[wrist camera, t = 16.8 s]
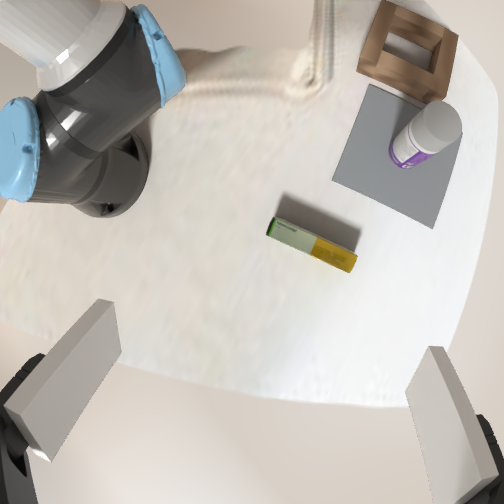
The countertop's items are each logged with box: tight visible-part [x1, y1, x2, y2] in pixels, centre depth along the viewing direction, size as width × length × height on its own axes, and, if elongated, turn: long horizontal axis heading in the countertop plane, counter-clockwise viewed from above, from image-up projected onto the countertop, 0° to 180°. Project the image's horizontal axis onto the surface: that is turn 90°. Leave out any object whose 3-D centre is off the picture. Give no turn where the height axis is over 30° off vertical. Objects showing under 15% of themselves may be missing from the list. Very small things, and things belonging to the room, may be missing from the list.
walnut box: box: [356, 0, 458, 105], centre depth 36 cm, size 13×13×5 cm
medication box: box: [266, 217, 358, 273], centre depth 42 cm, size 12×3×4 cm, turn 66°
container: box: [388, 101, 462, 170], centre depth 33 cm, size 5×5×15 cm
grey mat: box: [332, 85, 463, 229], centre depth 40 cm, size 16×16×1 cm
